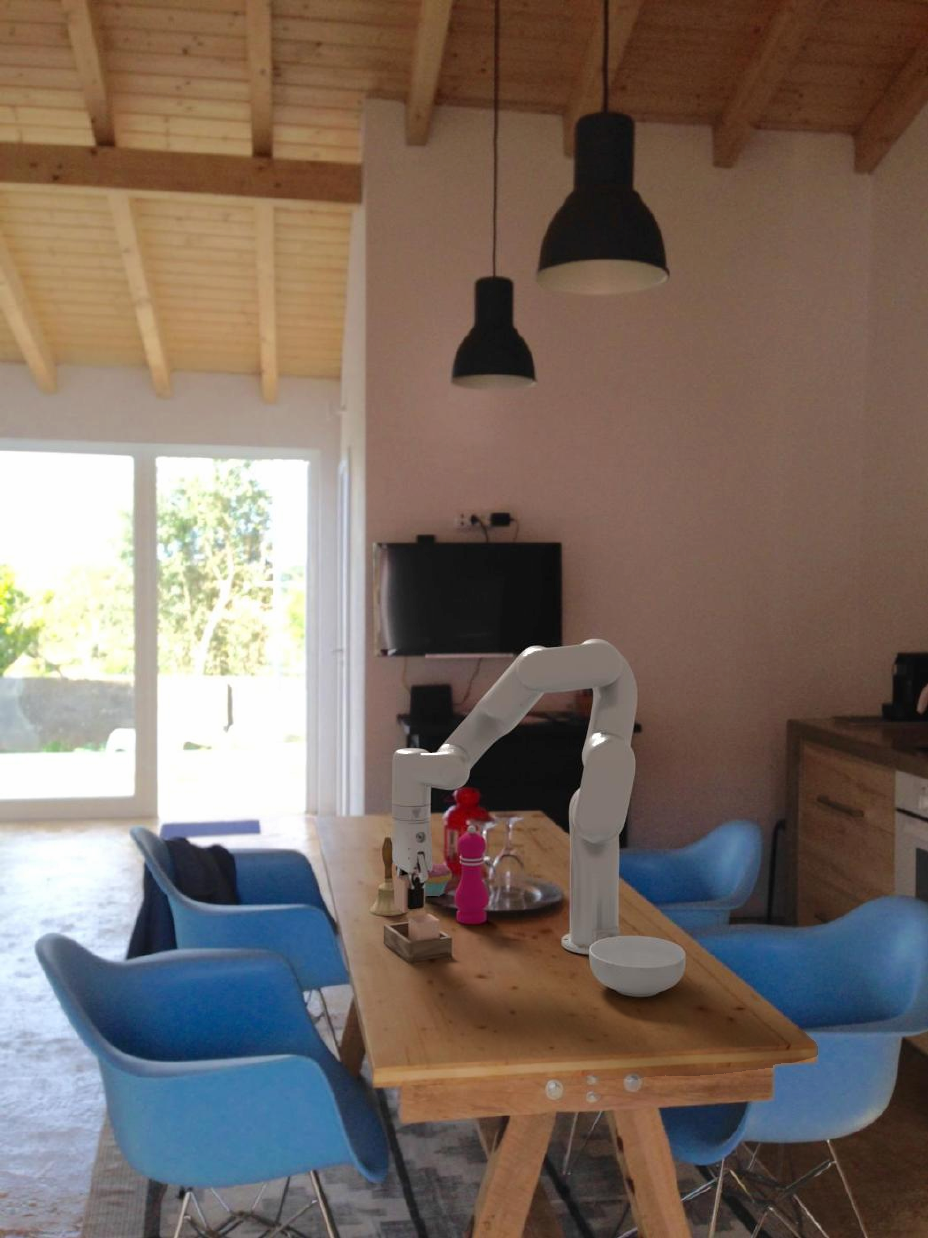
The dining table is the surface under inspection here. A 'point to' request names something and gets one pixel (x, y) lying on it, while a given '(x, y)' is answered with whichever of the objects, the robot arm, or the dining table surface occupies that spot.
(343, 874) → the dining table surface
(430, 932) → the pale pink block
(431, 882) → the cupcake
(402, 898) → the pale pink block
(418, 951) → the walnut crate
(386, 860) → the hand bell
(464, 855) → the pepper mill
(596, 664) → the robot arm
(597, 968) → the cereal bowl
